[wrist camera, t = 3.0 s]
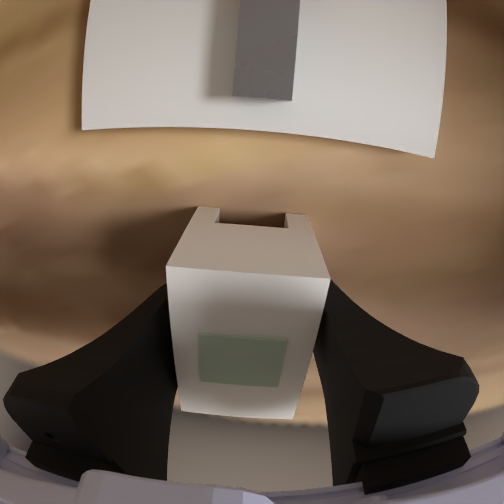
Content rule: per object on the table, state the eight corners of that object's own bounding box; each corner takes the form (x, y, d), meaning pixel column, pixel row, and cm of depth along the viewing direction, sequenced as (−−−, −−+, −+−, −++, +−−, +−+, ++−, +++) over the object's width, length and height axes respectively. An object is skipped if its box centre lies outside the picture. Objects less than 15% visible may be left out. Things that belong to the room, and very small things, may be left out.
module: (306, 214, 12) (331, 281, 8) (286, 338, 14) (292, 421, 10) (198, 206, 12) (164, 267, 7) (199, 332, 14) (181, 412, 10)
